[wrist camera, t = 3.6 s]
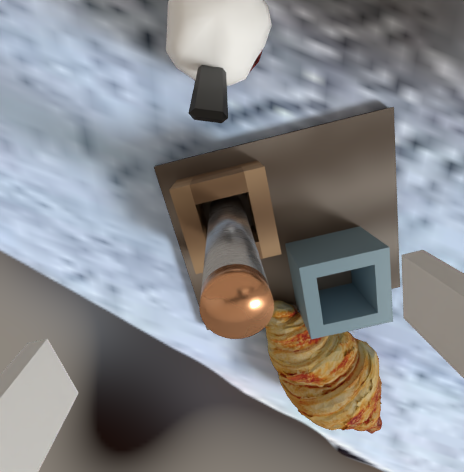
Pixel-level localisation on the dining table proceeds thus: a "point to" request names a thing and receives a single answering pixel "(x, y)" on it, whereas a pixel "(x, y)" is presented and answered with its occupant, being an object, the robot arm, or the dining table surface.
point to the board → (310, 190)
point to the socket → (345, 296)
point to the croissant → (325, 373)
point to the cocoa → (215, 47)
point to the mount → (220, 186)
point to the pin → (233, 274)
